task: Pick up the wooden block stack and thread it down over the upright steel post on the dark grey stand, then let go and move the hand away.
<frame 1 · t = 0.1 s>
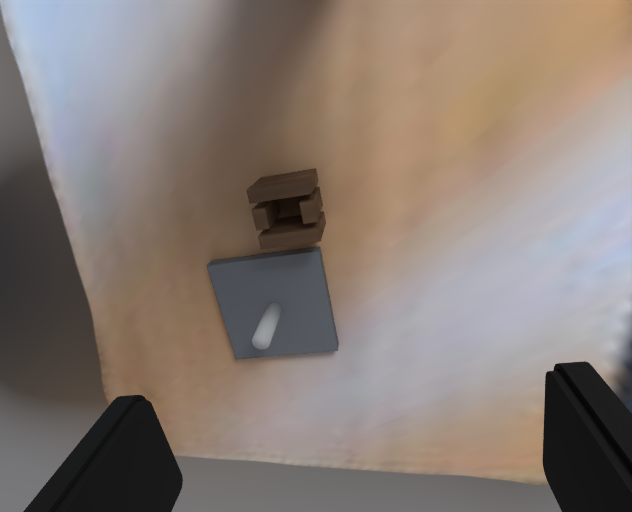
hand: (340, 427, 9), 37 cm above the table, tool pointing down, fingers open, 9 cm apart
stand: (276, 303, 51), on the table
wooden block stack: (293, 200, 45), on the table
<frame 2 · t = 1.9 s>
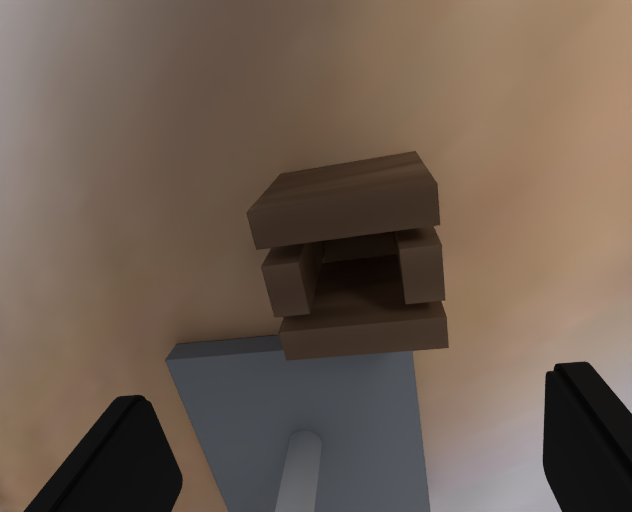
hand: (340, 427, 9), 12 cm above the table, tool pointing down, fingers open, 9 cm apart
stand: (309, 422, 26), on the table
wooden block stack: (355, 226, 20), on the table
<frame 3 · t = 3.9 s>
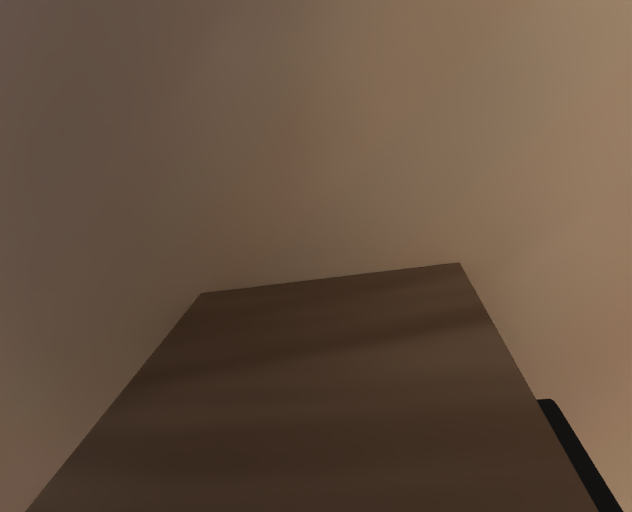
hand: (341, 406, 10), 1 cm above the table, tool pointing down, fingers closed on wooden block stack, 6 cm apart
wooden block stack: (343, 383, 11), on the table, touching gripper
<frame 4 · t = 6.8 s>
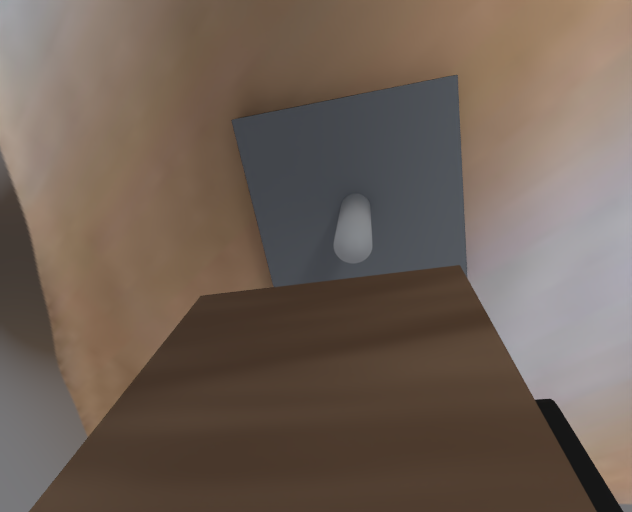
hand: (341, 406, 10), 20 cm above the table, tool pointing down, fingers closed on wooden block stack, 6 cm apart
stand: (355, 202, 28), on the table
wooden block stack: (343, 386, 11), point 19 cm above the table, touching gripper
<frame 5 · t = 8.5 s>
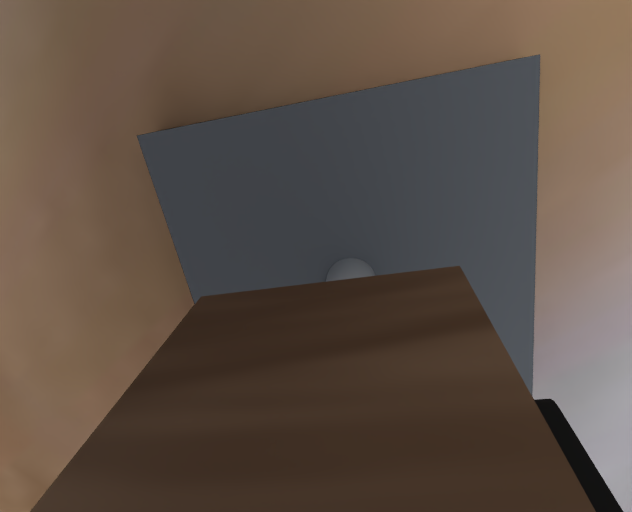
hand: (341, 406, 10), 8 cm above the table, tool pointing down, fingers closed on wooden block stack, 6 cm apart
stand: (352, 265, 17), on the table
wooden block stack: (343, 386, 11), point 7 cm above the table, touching gripper
when the fingers open (4 cm above the table, at t = 9.7 s): wooden block stack drops 2 cm, resting on stand.
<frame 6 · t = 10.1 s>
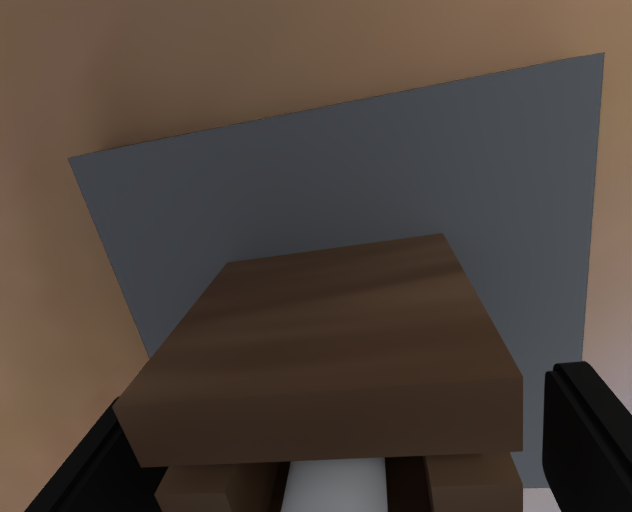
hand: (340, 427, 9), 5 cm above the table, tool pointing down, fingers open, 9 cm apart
stand: (348, 315, 14), on the table
wooden block stack: (347, 340, 13), point 1 cm above the table, touching stand
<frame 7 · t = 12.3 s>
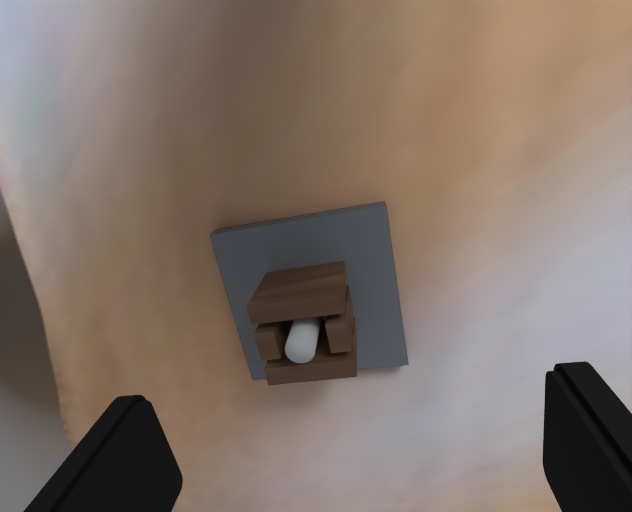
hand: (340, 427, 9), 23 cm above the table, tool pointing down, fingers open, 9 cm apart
stand: (314, 294, 34), on the table
wooden block stack: (312, 302, 32), point 1 cm above the table, touching stand
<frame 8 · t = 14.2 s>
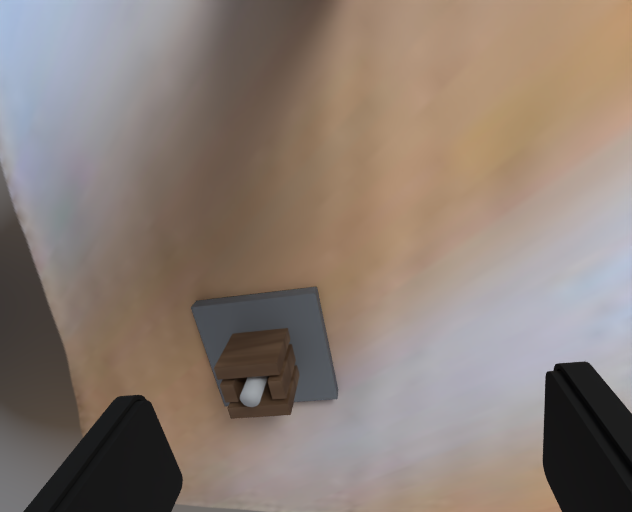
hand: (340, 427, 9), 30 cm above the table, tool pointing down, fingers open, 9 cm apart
stand: (269, 346, 46), on the table
wooden block stack: (266, 354, 44), point 1 cm above the table, touching stand
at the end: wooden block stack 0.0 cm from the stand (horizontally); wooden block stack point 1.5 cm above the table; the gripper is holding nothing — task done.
